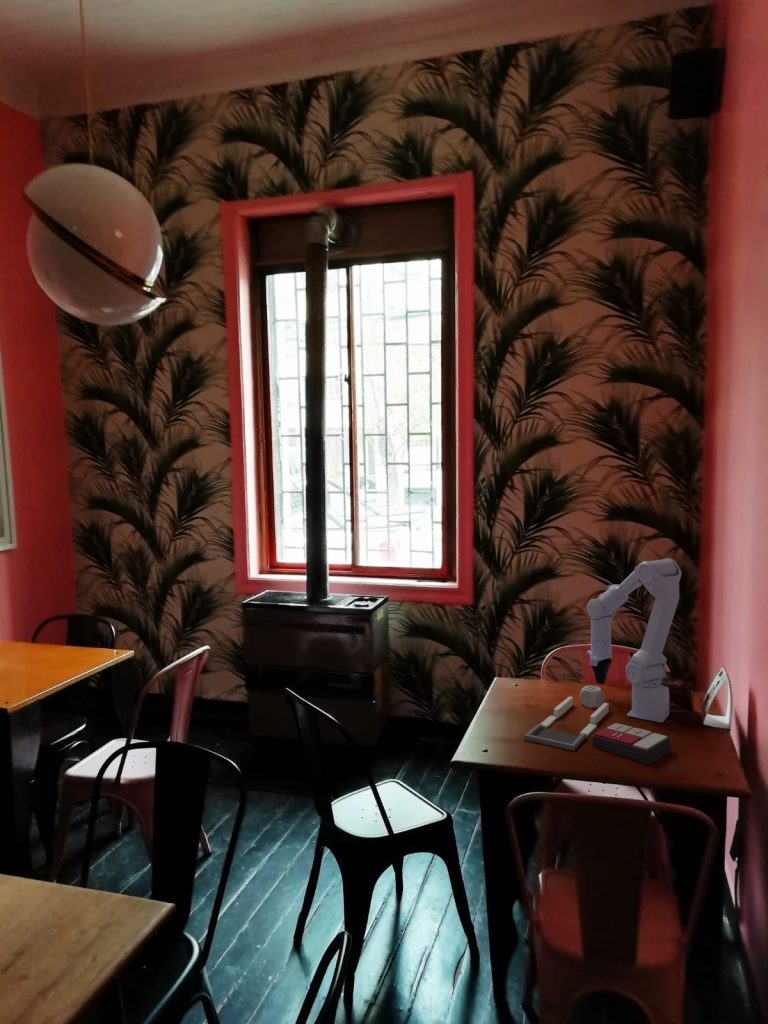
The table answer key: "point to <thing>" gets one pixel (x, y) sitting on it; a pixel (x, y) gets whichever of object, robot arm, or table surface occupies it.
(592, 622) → the robot arm
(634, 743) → the calculator
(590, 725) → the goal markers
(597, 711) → the white guide rails
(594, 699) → the die
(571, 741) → the tray
